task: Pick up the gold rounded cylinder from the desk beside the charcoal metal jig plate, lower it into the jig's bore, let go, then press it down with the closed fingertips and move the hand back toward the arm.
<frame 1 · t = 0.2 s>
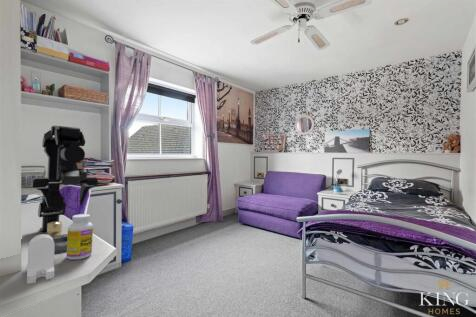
hand: (65, 206, 84), 14 cm above the table, tool pointing down, fingers open, 9 cm apart
jig: (59, 245, 84), on the table
cable organizer: (40, 274, 63), on the table
supplement bottle: (79, 257, 75), on the table
gold rounded cylinder: (54, 238, 91), on the table
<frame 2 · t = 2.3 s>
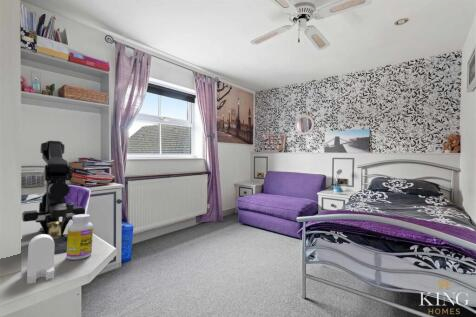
hand: (54, 235, 91), 1 cm above the table, tool pointing down, fingers closed on gold rounded cylinder, 4 cm apart
gold rounded cylinder: (54, 238, 91), on the table, touching gripper
everything else where it was.
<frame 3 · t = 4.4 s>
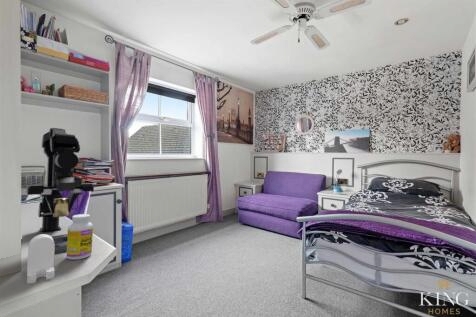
hand: (60, 212, 85), 11 cm above the table, tool pointing down, fingers closed on gold rounded cylinder, 4 cm apart
gold rounded cylinder: (60, 215, 84), point 10 cm above the table, touching gripper
everything else where it was.
when the fingers open (2 cm above the table, at t = 6.3 s): gold rounded cylinder drops 2 cm, resting in jig.
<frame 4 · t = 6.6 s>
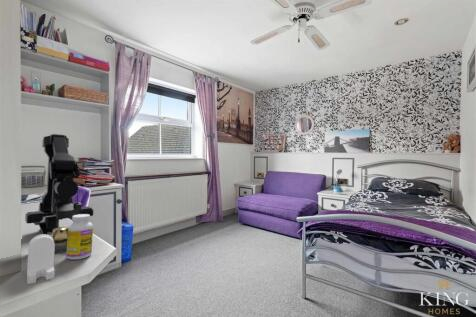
hand: (60, 238, 84), 2 cm above the table, tool pointing down, fingers open, 7 cm apart
gold rounded cylinder: (59, 246, 84), resting in jig
everything else where it was.
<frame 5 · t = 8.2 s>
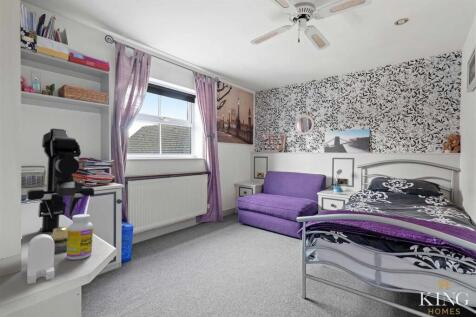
hand: (61, 217, 84), 10 cm above the table, tool pointing down, fingers open, 5 cm apart
nothing on the table moved.
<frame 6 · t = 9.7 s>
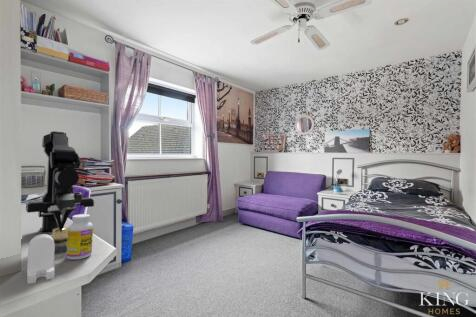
hand: (60, 228, 84), 6 cm above the table, tool pointing down, fingers closed, pressing on gold rounded cylinder
gold rounded cylinder: (59, 245, 84), resting in jig, touching gripper
everything else where it was.
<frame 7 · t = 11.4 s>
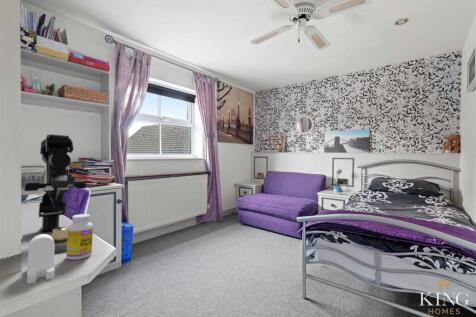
hand: (55, 207, 92), 12 cm above the table, tool pointing down, fingers closed
gold rounded cylinder: (59, 245, 84), resting in jig
everything else where it was.
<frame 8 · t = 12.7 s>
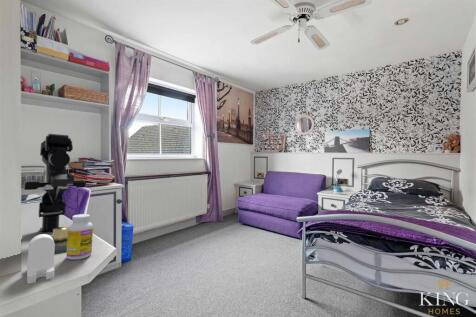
hand: (55, 206, 92), 12 cm above the table, tool pointing down, fingers closed
nothing on the table moved.
at the end: gold rounded cylinder 0.0 cm off-centre on the jig, point 0.0 cm above the jig's base; gold rounded cylinder tilted 1°; the gripper is holding nothing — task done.
